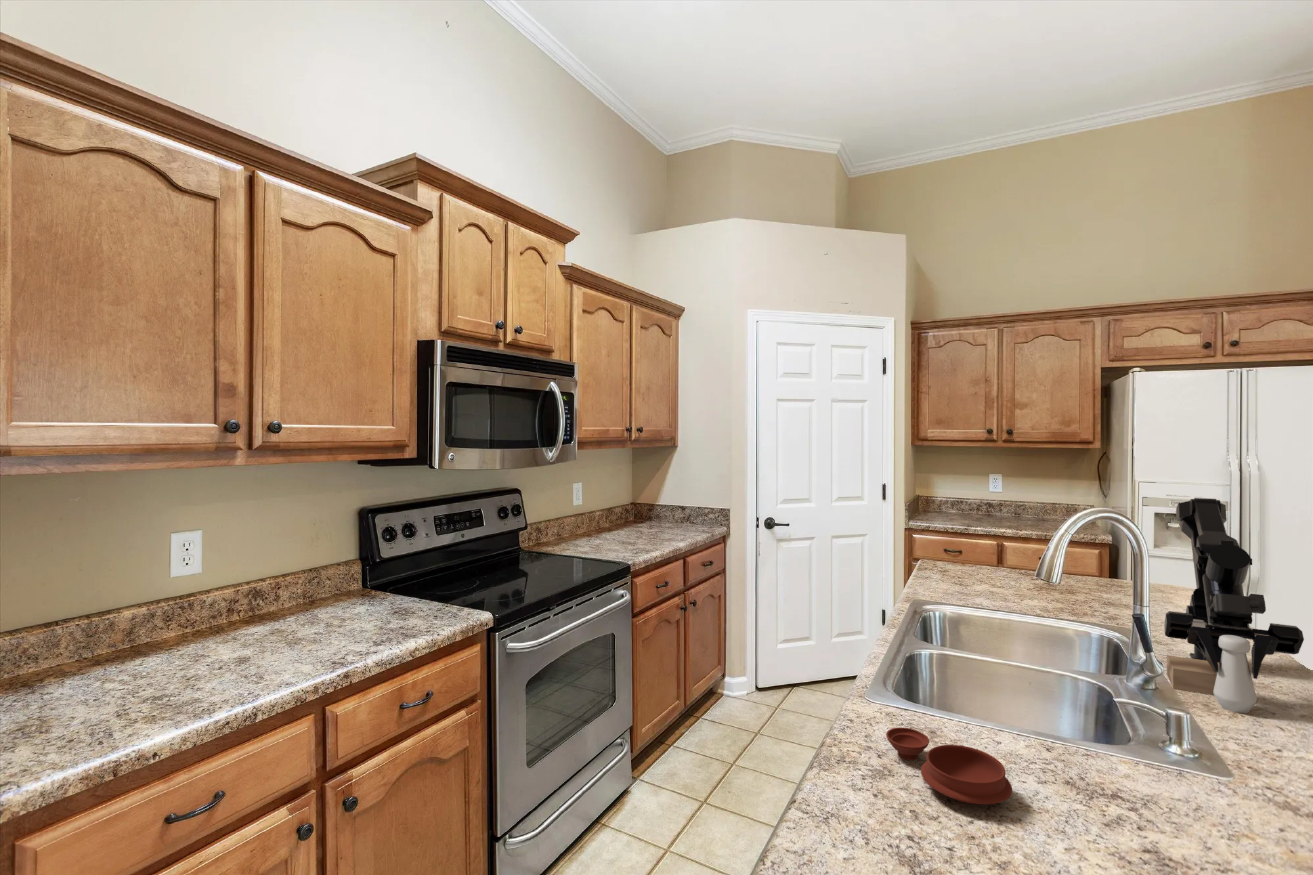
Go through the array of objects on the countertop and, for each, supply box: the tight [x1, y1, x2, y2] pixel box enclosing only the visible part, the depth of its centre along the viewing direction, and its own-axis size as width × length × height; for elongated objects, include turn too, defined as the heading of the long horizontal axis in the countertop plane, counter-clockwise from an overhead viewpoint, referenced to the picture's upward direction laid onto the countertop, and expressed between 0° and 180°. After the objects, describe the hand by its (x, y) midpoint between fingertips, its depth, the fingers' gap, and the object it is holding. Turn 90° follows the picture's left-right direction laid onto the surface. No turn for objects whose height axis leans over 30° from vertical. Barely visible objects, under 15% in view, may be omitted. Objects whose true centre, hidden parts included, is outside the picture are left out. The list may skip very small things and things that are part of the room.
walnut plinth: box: [1166, 654, 1219, 696], centre depth 123 cm, size 8×8×4 cm
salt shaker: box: [1213, 635, 1258, 714], centre depth 113 cm, size 6×6×13 cm
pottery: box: [885, 727, 1013, 805], centre depth 93 cm, size 12×20×4 cm, turn 23°
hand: (1236, 674), depth 112 cm, fingers open, 5 cm apart
